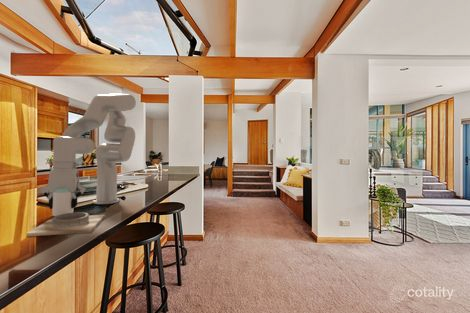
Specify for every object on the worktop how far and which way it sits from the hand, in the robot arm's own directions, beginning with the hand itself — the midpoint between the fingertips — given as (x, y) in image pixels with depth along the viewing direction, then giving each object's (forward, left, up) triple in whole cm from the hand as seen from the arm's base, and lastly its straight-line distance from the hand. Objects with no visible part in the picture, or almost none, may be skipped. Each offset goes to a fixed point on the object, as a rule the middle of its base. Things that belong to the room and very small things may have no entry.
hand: (63, 207), depth 94 cm
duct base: (+15, +8, -3) cm, 17 cm away
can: (0, 0, -4) cm, 4 cm away
